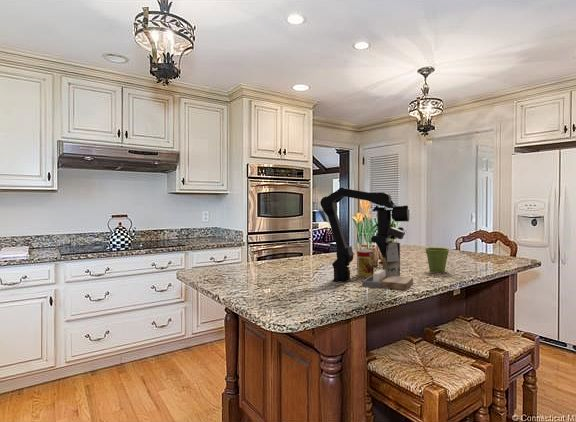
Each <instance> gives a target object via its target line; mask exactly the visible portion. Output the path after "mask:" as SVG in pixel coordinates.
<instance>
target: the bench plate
mask: <svg viewBox="0 0 576 422" xmlns="http://www.w3.org/2000/svg"><path fill="white" fill-rule="evenodd" d="M413 284H414V278H413V277H408V276H400V277H399V276H389V277H387V278H386V279H384V280H383V281H382V287H381V288H384V289H395V290H405V291H406V290H408V289H409V288H410V287H411V286H412V285H413Z"/></svg>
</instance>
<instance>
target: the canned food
mask: <svg viewBox="0 0 576 422" xmlns="http://www.w3.org/2000/svg"><path fill="white" fill-rule="evenodd" d="M374 257H375V255H374V250H372V249H358V250H357V251H356V259H357V260H356V264H357V265H356V270H357V272H356V274H357V277H362V278H368V277H370V276H372V275H373V273H375V272H374V271H375V270H374V269H375V265H374V262H375V261H374Z"/></svg>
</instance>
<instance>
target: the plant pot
mask: <svg viewBox="0 0 576 422" xmlns="http://www.w3.org/2000/svg"><path fill="white" fill-rule="evenodd" d="M424 250H425V252H426V253H425V254H426V257H427V262H428V269H429V271H430V272H433V273H441V272H442V273H444V272H445V271H446V266H447V261H448V260H447V259H448V255H449V251H451V249H450V248H446V247H426V248H424Z"/></svg>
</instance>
